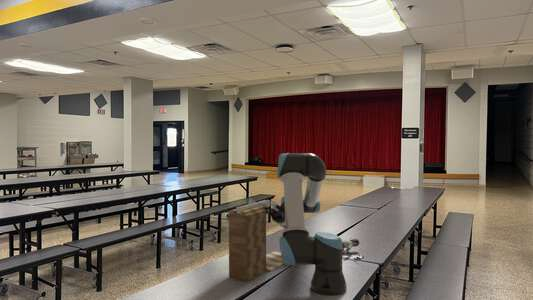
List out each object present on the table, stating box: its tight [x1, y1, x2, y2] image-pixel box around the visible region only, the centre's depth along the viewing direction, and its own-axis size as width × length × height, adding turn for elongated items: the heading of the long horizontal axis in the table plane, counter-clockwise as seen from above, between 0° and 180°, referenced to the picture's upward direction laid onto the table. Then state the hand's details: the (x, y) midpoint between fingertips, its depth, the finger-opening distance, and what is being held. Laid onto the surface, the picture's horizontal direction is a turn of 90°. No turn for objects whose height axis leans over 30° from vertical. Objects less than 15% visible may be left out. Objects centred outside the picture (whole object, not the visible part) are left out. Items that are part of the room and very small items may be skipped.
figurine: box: [342, 238, 360, 256], centre depth 205 cm, size 23×7×30 cm
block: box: [235, 199, 271, 214], centre depth 177 cm, size 24×3×3 cm, turn 146°
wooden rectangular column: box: [228, 206, 267, 283], centre depth 173 cm, size 16×10×32 cm, turn 146°
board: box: [266, 250, 286, 272], centre depth 192 cm, size 26×14×1 cm, turn 146°
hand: (260, 202), depth 181 cm, fingers open, 13 cm apart
